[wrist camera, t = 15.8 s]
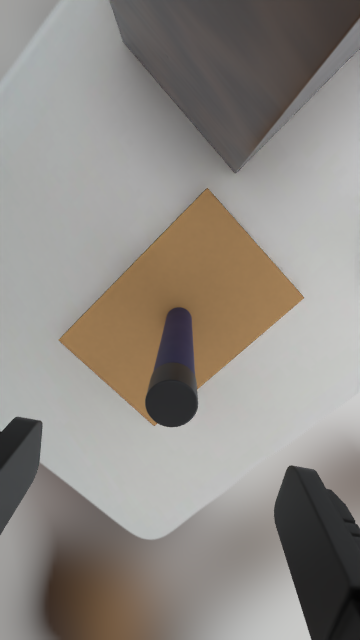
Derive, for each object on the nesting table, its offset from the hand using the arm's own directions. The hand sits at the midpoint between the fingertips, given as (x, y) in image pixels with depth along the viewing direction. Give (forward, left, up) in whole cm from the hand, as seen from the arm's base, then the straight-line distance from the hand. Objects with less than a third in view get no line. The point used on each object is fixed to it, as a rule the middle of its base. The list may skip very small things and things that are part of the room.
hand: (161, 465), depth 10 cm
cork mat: (0, 0, -18) cm, 18 cm away
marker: (0, 0, -18) cm, 18 cm away
